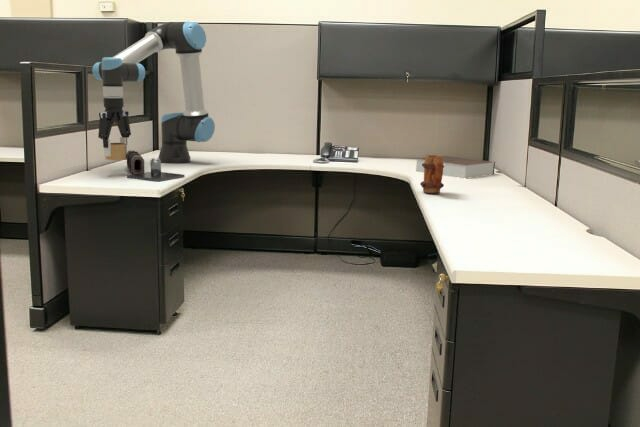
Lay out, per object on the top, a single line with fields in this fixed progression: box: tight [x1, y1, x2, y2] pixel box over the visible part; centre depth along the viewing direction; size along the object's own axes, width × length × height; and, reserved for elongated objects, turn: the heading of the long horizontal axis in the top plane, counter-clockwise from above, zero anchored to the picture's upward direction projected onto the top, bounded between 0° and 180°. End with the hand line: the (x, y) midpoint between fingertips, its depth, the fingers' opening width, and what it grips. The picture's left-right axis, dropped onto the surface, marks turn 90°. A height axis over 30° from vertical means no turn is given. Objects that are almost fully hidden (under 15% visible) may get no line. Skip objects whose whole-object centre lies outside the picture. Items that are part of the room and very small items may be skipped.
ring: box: [104, 142, 128, 161], centre depth 262 cm, size 8×8×6 cm
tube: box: [126, 150, 145, 174], centre depth 279 cm, size 11×7×30 cm
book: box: [415, 155, 496, 179], centre depth 308 cm, size 24×28×7 cm
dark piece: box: [126, 157, 186, 183], centre depth 262 cm, size 16×16×8 cm
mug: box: [420, 154, 445, 194], centre depth 244 cm, size 15×8×15 cm, turn 5°
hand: (115, 154), depth 262 cm, fingers closed on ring, 8 cm apart
